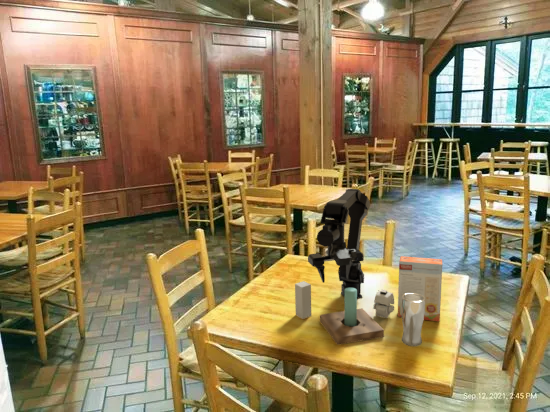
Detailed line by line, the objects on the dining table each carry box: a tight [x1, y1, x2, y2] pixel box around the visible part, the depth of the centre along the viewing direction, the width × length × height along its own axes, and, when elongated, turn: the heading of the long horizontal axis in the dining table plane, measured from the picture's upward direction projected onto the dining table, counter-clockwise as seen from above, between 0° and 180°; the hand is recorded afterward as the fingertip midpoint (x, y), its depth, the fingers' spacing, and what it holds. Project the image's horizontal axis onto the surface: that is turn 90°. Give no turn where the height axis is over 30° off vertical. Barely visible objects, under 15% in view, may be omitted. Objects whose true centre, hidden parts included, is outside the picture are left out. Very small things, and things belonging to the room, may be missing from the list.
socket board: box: [319, 308, 385, 346], centre depth 146 cm, size 16×16×2 cm
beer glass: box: [401, 293, 425, 347], centre depth 136 cm, size 7×7×15 cm
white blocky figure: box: [373, 289, 395, 319], centre depth 152 cm, size 6×7×10 cm
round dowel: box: [344, 288, 358, 327], centre depth 145 cm, size 4×4×14 cm
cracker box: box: [397, 255, 443, 322], centre depth 151 cm, size 14×6×21 cm, turn 70°
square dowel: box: [294, 280, 312, 320], centre depth 155 cm, size 4×4×12 cm
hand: (335, 280), depth 153 cm, fingers open, 9 cm apart
